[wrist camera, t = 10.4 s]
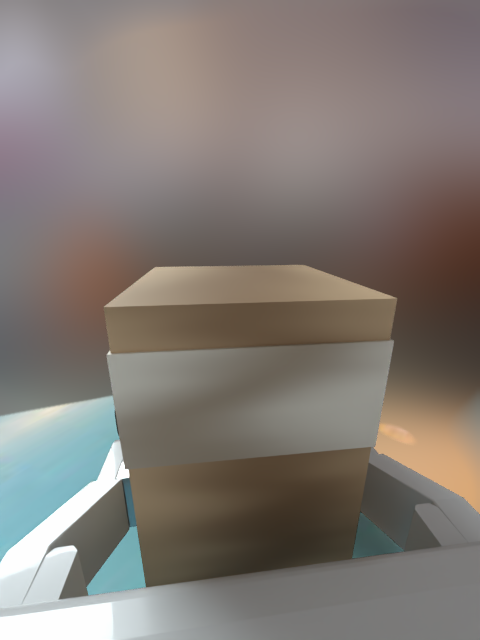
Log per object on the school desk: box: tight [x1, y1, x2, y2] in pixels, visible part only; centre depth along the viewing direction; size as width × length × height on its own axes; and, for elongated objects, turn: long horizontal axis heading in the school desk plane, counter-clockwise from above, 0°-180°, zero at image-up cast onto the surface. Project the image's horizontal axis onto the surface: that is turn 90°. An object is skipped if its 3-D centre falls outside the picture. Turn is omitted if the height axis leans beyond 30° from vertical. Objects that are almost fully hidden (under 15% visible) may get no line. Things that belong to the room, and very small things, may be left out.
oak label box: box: [104, 265, 397, 587], centre depth 9 cm, size 5×5×14 cm
